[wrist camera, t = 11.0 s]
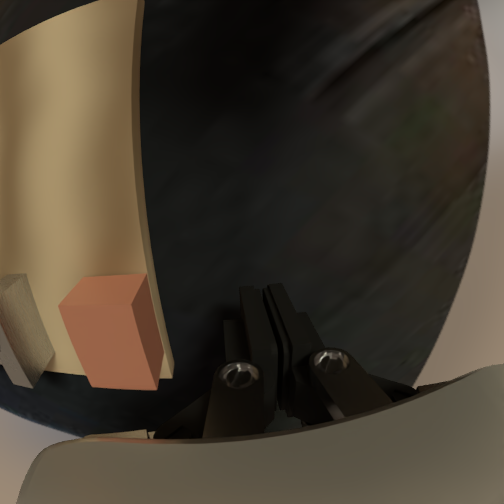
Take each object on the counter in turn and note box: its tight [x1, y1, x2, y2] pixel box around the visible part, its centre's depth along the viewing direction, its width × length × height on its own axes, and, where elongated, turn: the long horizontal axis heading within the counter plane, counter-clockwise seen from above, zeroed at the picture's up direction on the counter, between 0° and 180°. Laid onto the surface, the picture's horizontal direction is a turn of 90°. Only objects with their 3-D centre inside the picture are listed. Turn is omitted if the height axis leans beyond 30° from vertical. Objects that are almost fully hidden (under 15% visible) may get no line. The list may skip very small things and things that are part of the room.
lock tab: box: [58, 273, 164, 390], centre depth 10 cm, size 3×4×2 cm
